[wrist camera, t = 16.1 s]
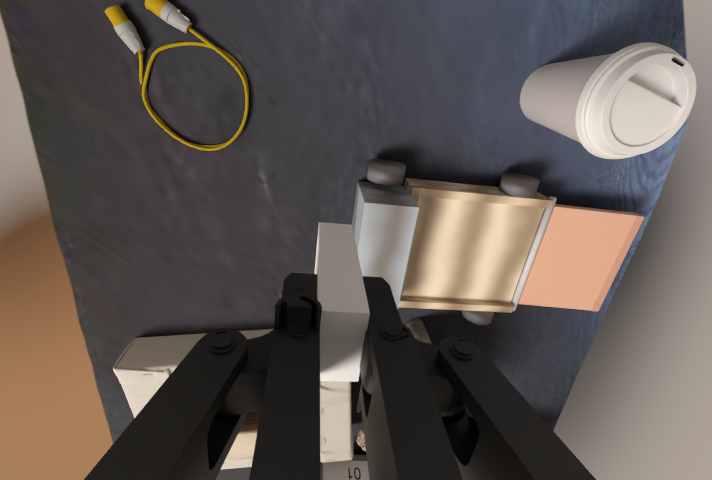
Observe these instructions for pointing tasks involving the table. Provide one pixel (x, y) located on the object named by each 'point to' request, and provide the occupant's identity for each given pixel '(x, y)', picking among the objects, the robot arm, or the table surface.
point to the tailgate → (575, 256)
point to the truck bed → (446, 238)
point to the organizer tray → (345, 469)
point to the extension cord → (174, 17)
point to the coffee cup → (614, 99)
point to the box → (164, 353)
